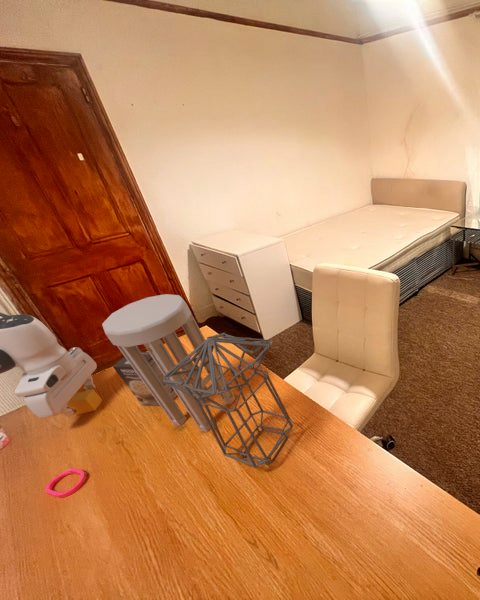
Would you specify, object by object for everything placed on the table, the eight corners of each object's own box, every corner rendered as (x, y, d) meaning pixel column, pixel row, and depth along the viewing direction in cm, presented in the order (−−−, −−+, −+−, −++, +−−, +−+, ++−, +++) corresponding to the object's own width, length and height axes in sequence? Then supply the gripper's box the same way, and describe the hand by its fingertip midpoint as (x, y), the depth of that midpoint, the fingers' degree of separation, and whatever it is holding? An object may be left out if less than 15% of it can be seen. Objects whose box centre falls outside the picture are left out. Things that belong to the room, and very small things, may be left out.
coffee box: (140, 406, 92) (110, 366, 84) (156, 389, 98) (129, 350, 89) (167, 407, 91) (140, 367, 83) (182, 390, 96) (158, 351, 88)
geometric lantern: (269, 486, 69) (207, 374, 51) (216, 467, 74) (142, 358, 56) (308, 427, 82) (269, 320, 63) (260, 414, 87) (211, 311, 68)
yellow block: (95, 410, 92) (85, 399, 89) (76, 415, 91) (65, 403, 88) (102, 400, 95) (93, 389, 93) (84, 404, 94) (74, 393, 92)
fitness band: (94, 474, 75) (90, 471, 74) (68, 500, 70) (63, 497, 69) (69, 469, 76) (65, 465, 75) (41, 493, 71) (37, 490, 71)
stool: (246, 394, 93) (198, 295, 75) (207, 440, 81) (138, 335, 62) (204, 387, 97) (149, 291, 78) (161, 430, 84) (83, 328, 66)
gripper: (63, 346, 92) (90, 379, 99) (8, 398, 75) (46, 433, 82) (87, 341, 93) (112, 374, 101) (39, 391, 76) (73, 427, 84)
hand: (82, 401), depth 91 cm, fingers open, 8 cm apart
